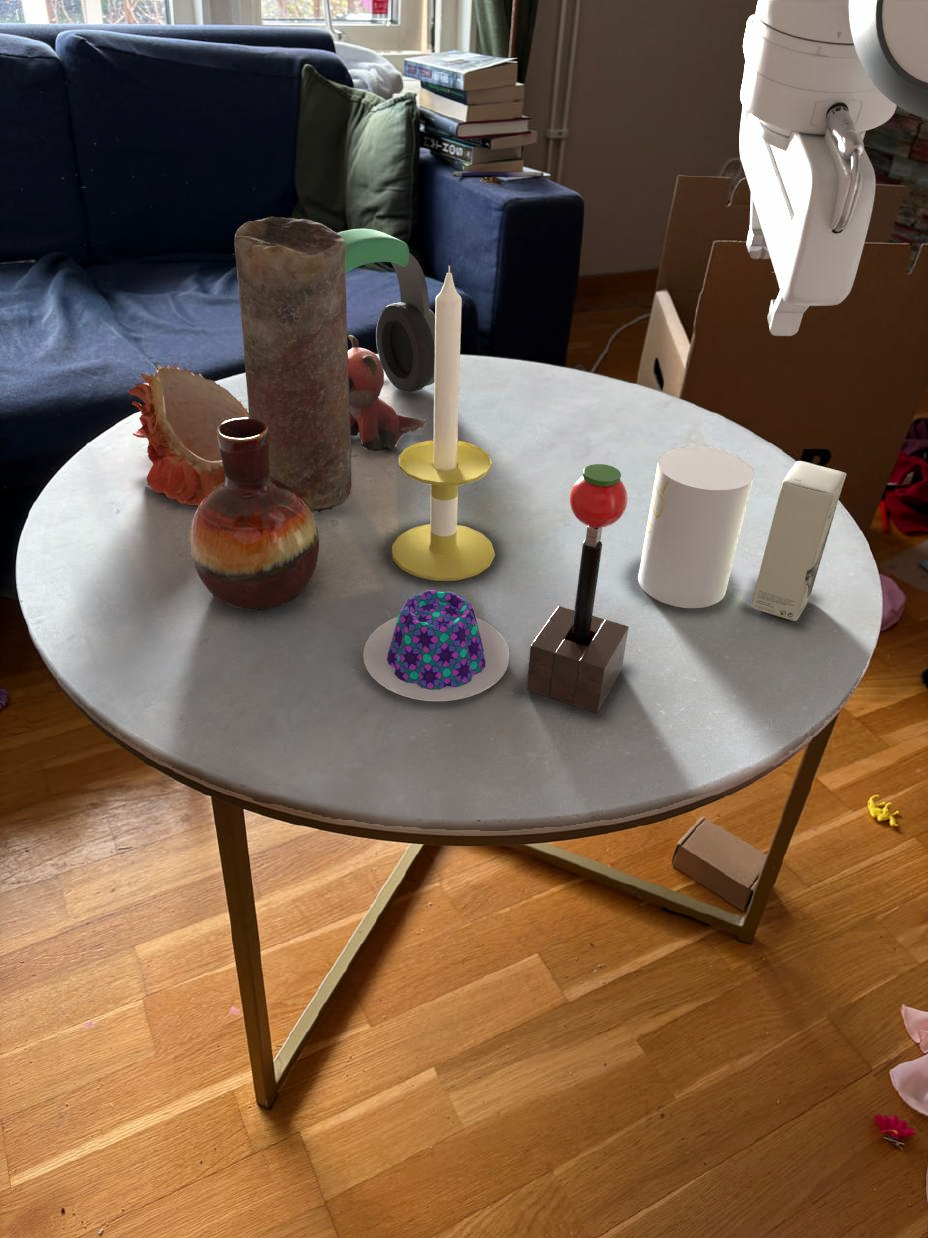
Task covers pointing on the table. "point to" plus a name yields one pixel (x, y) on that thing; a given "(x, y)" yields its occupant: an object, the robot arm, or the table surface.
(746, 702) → the table surface
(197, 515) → the vase
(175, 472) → the seashell
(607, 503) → the joystick
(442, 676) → the pudding
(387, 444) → the stuffed fox
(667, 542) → the white cylinder
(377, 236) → the headphones
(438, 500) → the candle
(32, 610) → the table surface
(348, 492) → the brown textured cylinder
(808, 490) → the box
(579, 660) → the block
